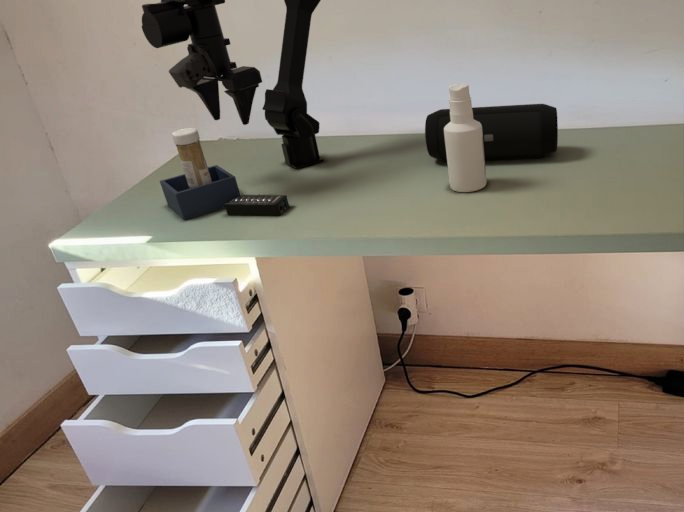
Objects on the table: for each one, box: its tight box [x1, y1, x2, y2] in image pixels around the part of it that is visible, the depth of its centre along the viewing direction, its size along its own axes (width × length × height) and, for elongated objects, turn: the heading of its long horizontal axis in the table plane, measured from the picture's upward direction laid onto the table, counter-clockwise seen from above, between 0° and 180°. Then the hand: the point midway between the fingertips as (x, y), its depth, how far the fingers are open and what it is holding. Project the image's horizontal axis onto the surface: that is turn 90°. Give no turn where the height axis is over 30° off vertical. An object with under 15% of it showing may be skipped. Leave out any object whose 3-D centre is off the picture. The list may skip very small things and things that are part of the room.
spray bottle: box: [444, 82, 488, 193], centre depth 127 cm, size 7×7×18 cm
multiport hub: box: [224, 194, 290, 217], centre depth 131 cm, size 4×11×2 cm, turn 75°
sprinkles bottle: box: [171, 127, 212, 188], centre depth 134 cm, size 5×5×13 cm
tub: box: [159, 164, 241, 221], centre depth 136 cm, size 11×10×5 cm
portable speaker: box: [424, 103, 559, 162], centre depth 141 cm, size 26×10×10 cm, turn 81°
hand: (231, 122), depth 137 cm, fingers open, 9 cm apart
